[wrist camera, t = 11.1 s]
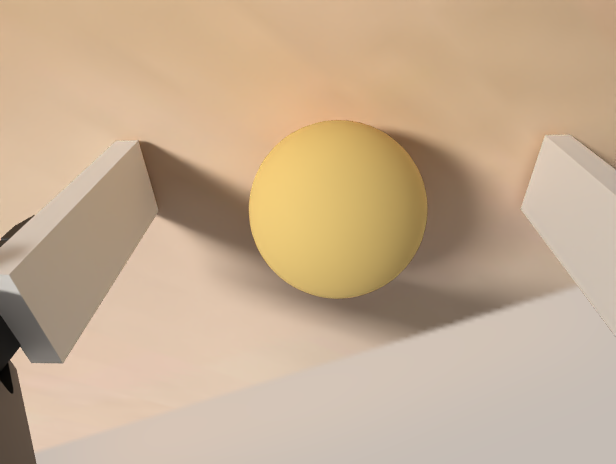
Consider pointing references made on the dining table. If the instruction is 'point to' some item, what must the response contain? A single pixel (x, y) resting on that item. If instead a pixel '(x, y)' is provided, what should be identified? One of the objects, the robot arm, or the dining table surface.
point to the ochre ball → (338, 209)
